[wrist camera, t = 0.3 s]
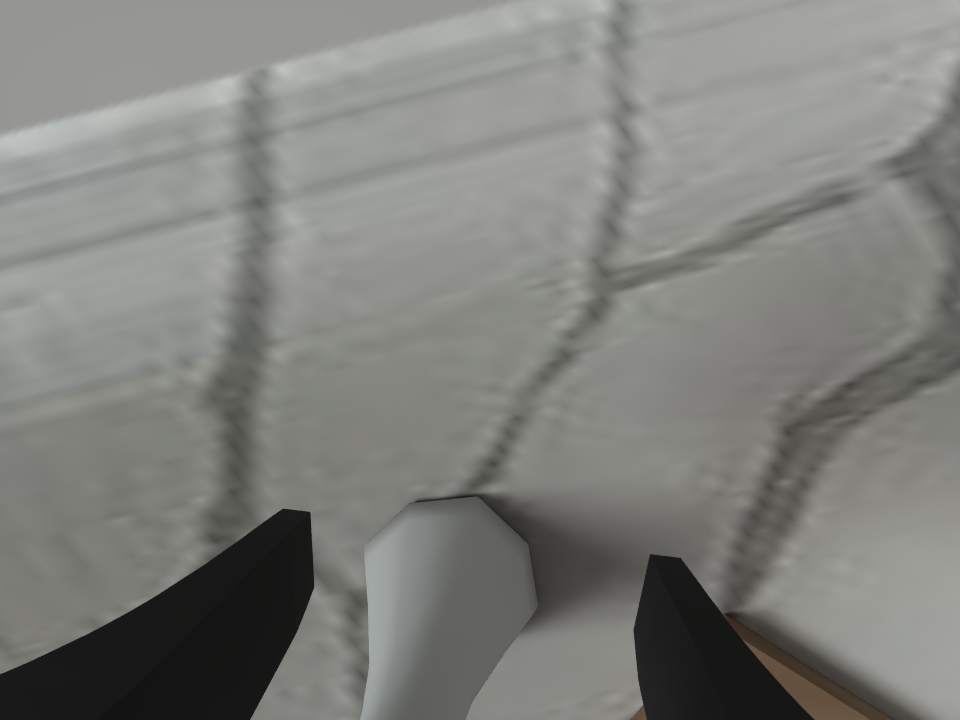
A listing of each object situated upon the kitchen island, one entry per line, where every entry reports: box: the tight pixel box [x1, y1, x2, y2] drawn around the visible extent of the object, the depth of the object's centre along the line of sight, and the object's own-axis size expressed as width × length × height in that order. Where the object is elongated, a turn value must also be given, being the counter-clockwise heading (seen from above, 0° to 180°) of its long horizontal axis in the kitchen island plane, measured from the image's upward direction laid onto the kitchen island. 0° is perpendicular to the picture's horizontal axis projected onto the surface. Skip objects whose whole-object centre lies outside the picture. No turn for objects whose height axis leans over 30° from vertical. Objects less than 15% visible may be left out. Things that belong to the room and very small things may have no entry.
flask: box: [360, 496, 538, 720], centre depth 19 cm, size 7×7×10 cm
